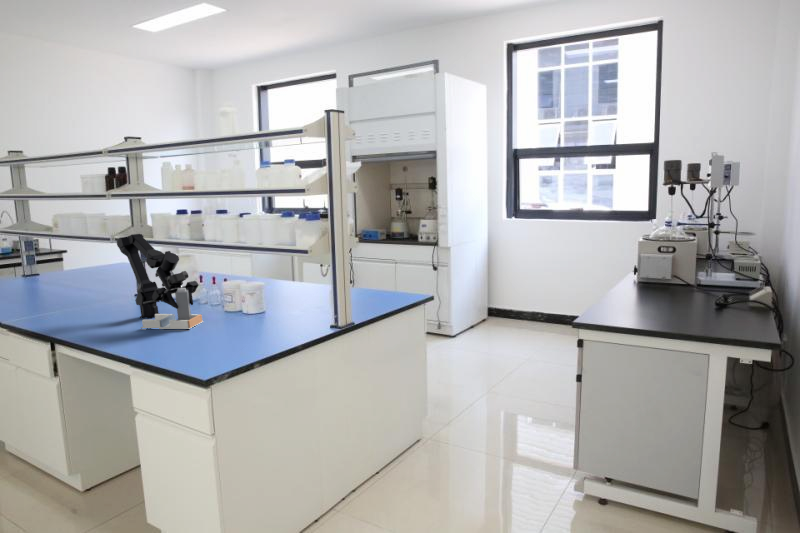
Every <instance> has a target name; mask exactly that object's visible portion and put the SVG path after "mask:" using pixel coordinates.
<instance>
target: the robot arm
mask: <svg viewBox="0 0 800 533" xmlns="http://www.w3.org/2000/svg"><path fill="white" fill-rule="evenodd" d="M116 246H117V248H118V249H119V251H120V252H121V253H122V255H124V256H126V257H127V259H128V262H129V264H130V267H131V269H132V272H133V275H134V277H135V279H136V281H137V283H138V284H137V285H138V288H137V295H136V297H135V303H136V305H137V306H139V308H140V316H139V317H140V318H139V319H153V318H155V314H161V313H159V306H158V305H157V304H158V303H160V302H163V303H165V304H167V305H170V306H171V307H172V308H175V309H176V310H177V309H178V305H177V303H176V299H174V297H173V295H174V294H175V293H176V291H177V289H178V288H186V290H188V292H189V301H190V306H193V305H194V299H193V294H194V293H195V292H196V291H197V289H198V287H199V283H198V281H196V280H192V281H187V282H186V284H185V285H183V284H184V281H186V280H187V279H189V273H188V272H187V271H186V270H183V271H181V272H180V273H174V272H173V271H174V270H175V269H176V267H177V264H178V263H179V261H180V257H179V255H177V254H176V253H174V252H172V251H171V250H166V251H164V252H163V251H161V250H158V249H156V248H154V247H153V246H152V245H151V244H150V243H149V242H148V241H147V240H146V239H145V238H144V235H143V234H142V233H134V234H130V235H128V236H121V237H119V238H118V239H117V240H116ZM139 251H140V253H141V254H142V255H143V256H144V257H145V259H146V260H145V263H146V265H147V266H148V267H149V268H151V269H156V271H155V277H156V278H159V279H160V281H161V283H162V284H161V286H162V287H158V284H157V283H156V281H152V280H150V278H149V275H148V273H147V270H146V268H145V265H144V263H143V261H142V258H141V256H140V253H139ZM182 285H183V286H182ZM141 317H142V318H141ZM152 317H153V318H152Z"/></svg>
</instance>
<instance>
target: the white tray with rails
mask: <svg viewBox="0 0 800 533" xmlns="http://www.w3.org/2000/svg"><path fill="white" fill-rule="evenodd" d="M141 322H142V326H141V327H140V329H141V328H159V329H190V328H192V327H194V326H196V325H198V324H200V323H202V322H203V323H204V320H203V315H202V314H196V313H195V314H193V313H191V319H190V320H178V319H176V314H175V313H160V314H155V317H154V319H146V318H143V319H142V320H141ZM203 323H202V324H203ZM200 325H201V324H200ZM198 326H199V325H198ZM196 327H197V326H196ZM194 328H195V327H194Z"/></svg>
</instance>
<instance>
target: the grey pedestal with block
mask: <svg viewBox="0 0 800 533" xmlns="http://www.w3.org/2000/svg"><path fill="white" fill-rule="evenodd" d="M174 294H175V302H176V303H177V305H178V309H176V312H177V320H190V319H191V314H192V313H191V311H192V310H191V304H190V301H189V292H188V290H186V288H178V289H177V291H176V293H174Z"/></svg>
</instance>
